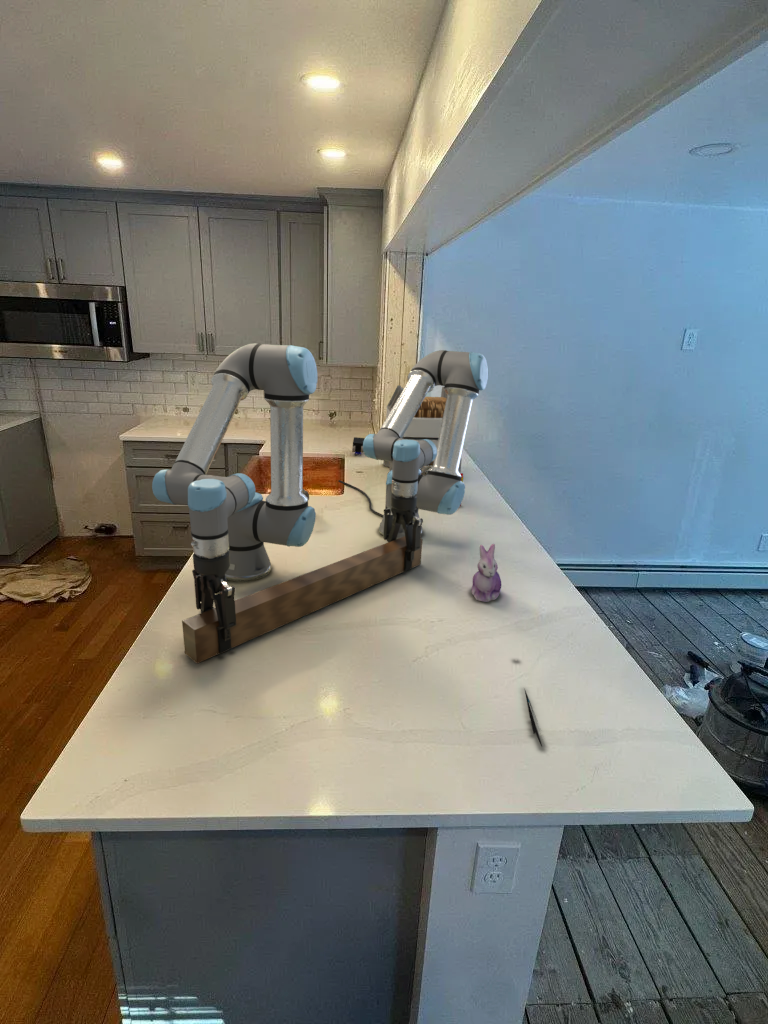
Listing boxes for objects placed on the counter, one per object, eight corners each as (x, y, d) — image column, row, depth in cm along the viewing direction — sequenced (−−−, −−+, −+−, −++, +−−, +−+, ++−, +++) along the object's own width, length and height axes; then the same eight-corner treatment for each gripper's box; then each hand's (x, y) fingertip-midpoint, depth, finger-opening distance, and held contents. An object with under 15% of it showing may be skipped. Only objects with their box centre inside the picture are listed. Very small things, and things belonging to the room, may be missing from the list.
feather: (516, 665, 130) (521, 659, 130) (541, 751, 103) (548, 744, 103) (510, 661, 130) (515, 655, 129) (534, 747, 103) (541, 739, 103)
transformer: (382, 463, 289) (386, 382, 275) (445, 464, 293) (451, 384, 279) (390, 482, 257) (394, 392, 243) (460, 483, 261) (468, 394, 247)
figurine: (483, 606, 153) (489, 555, 148) (461, 589, 161) (466, 541, 156) (510, 599, 157) (517, 550, 152) (488, 583, 166) (493, 536, 161)
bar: (408, 558, 179) (409, 534, 176) (420, 564, 175) (422, 539, 172) (184, 653, 126) (181, 620, 123) (197, 663, 123) (194, 630, 120)
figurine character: (364, 459, 300) (364, 449, 314) (364, 445, 297) (365, 436, 311) (351, 458, 300) (352, 449, 314) (351, 445, 297) (352, 435, 310)
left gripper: (173, 543, 124) (182, 634, 132) (218, 571, 112) (225, 669, 121) (204, 534, 129) (211, 622, 137) (250, 560, 118) (255, 655, 126)
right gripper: (372, 488, 167) (370, 560, 175) (420, 504, 156) (415, 580, 164) (389, 483, 173) (386, 553, 181) (437, 499, 161) (431, 572, 169)
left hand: (217, 644), depth 129 cm, fingers closed on bar, 5 cm apart
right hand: (400, 566), depth 172 cm, fingers closed on bar, 5 cm apart
